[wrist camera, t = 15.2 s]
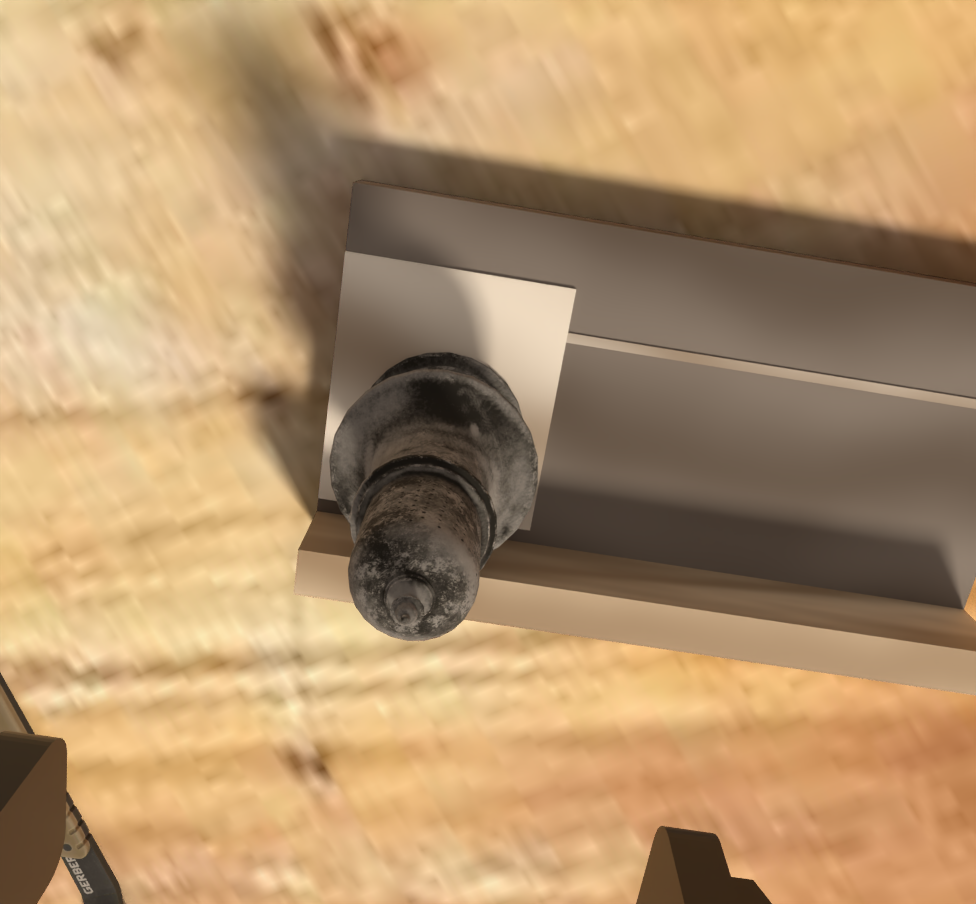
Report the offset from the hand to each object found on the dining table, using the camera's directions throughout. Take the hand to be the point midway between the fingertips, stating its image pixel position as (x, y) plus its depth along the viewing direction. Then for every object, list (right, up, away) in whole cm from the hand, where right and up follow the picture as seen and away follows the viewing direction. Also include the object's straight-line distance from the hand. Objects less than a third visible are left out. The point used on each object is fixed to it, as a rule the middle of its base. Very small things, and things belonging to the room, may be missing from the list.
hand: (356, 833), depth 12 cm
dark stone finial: (0, +6, +17) cm, 18 cm away
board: (+8, +6, +18) cm, 21 cm away
